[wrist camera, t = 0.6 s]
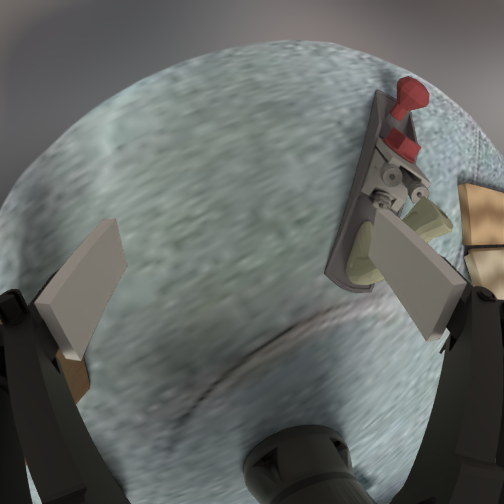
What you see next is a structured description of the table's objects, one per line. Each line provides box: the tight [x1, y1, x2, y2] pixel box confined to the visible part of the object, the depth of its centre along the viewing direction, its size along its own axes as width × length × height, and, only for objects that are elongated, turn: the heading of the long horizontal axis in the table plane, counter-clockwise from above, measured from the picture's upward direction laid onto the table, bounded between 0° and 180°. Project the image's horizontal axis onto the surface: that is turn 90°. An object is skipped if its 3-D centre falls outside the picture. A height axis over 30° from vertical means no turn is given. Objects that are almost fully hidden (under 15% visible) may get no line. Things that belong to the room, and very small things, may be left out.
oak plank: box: [458, 183, 504, 245], centre depth 37 cm, size 10×22×2 cm, turn 92°
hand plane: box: [324, 76, 453, 293], centre depth 26 cm, size 7×31×15 cm, turn 159°
